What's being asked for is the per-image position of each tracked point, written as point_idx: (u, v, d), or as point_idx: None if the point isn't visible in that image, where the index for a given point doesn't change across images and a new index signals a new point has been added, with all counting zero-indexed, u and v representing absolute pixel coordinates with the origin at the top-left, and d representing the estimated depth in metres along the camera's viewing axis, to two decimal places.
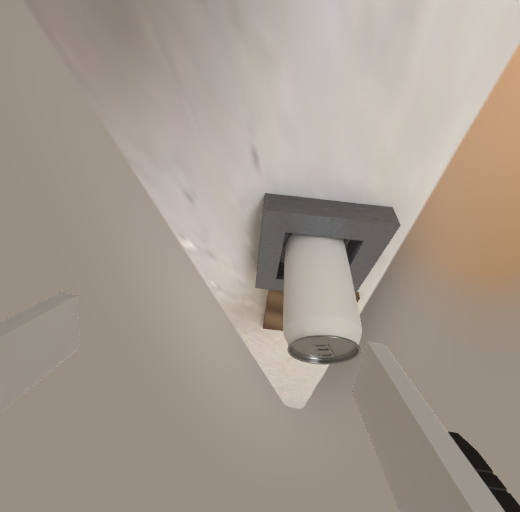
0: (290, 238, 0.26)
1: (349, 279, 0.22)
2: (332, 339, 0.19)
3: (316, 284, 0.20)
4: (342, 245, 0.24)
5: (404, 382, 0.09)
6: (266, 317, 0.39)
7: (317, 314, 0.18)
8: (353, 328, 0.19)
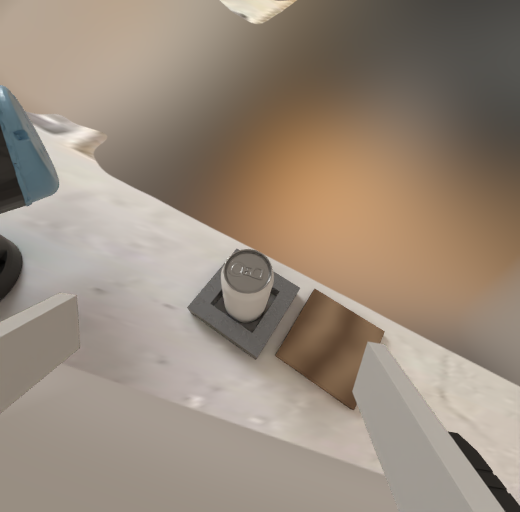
0: (226, 310, 0.37)
1: None
2: (236, 261, 0.29)
3: None
4: None
5: (404, 382, 0.09)
6: (327, 389, 0.33)
7: (222, 269, 0.30)
8: None
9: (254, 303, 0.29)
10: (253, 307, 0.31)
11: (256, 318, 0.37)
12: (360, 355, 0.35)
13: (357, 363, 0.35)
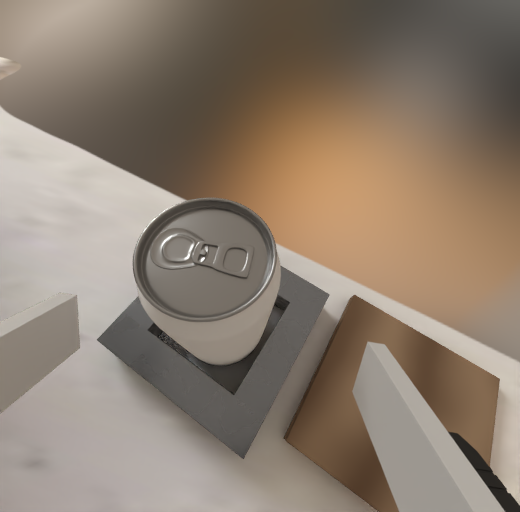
0: None
1: None
2: (179, 229, 0.11)
3: None
4: None
5: (404, 382, 0.09)
6: None
7: None
8: None
9: (228, 343, 0.11)
10: (229, 349, 0.12)
11: (244, 357, 0.18)
12: (463, 436, 0.17)
13: None
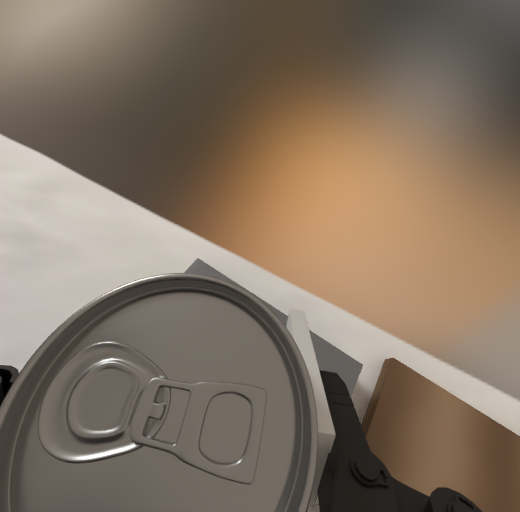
0: None
1: None
2: (112, 347, 0.05)
3: None
4: None
5: (303, 336, 0.10)
6: None
7: None
8: None
9: None
10: None
11: None
12: None
13: None
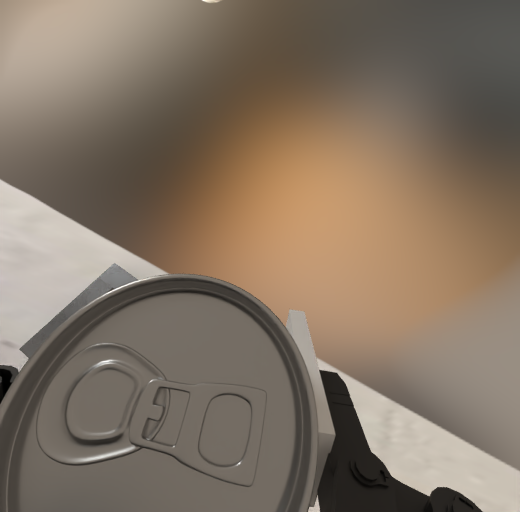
0: None
1: None
2: (111, 348, 0.05)
3: None
4: None
5: (303, 336, 0.10)
6: None
7: None
8: None
9: None
10: None
11: None
12: None
13: None
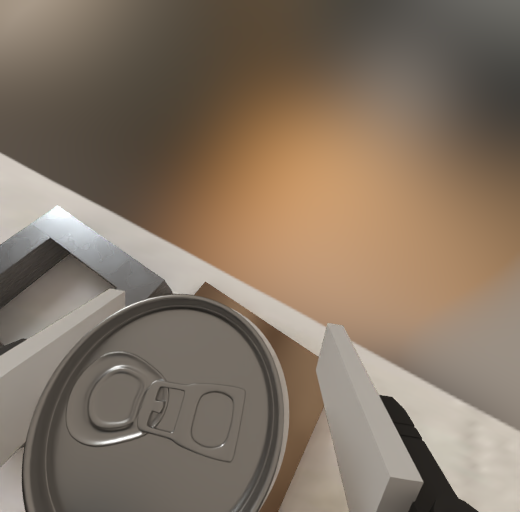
0: None
1: None
2: (122, 356, 0.06)
3: None
4: None
5: (351, 355, 0.10)
6: None
7: None
8: None
9: None
10: None
11: None
12: None
13: None
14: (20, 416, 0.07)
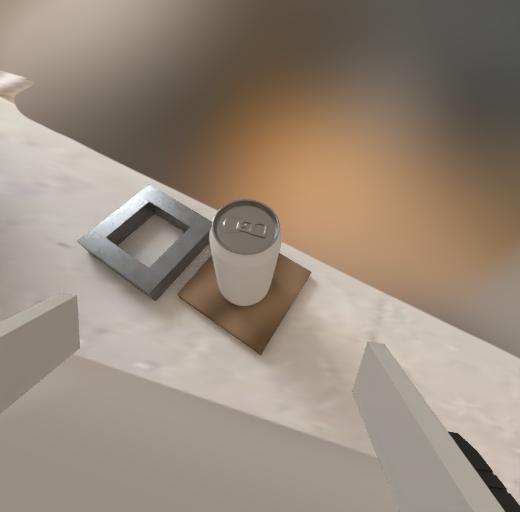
0: (220, 291, 0.29)
1: None
2: (230, 215, 0.21)
3: None
4: None
5: (404, 382, 0.09)
6: (233, 330, 0.28)
7: (211, 227, 0.22)
8: None
9: (255, 271, 0.21)
10: (254, 279, 0.23)
11: (258, 300, 0.29)
12: (278, 296, 0.30)
13: (273, 304, 0.30)
14: None
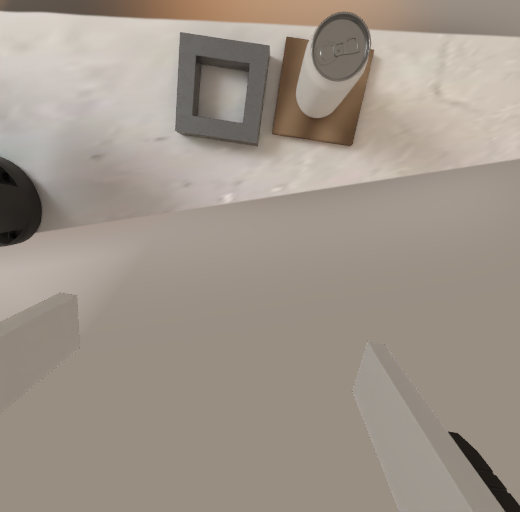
0: (305, 112, 0.35)
1: None
2: (322, 43, 0.24)
3: (301, 74, 0.28)
4: None
5: (404, 382, 0.09)
6: (326, 139, 0.37)
7: (305, 64, 0.25)
8: None
9: (352, 86, 0.27)
10: (348, 92, 0.28)
11: None
12: (351, 92, 0.35)
13: (348, 101, 0.35)
14: None
